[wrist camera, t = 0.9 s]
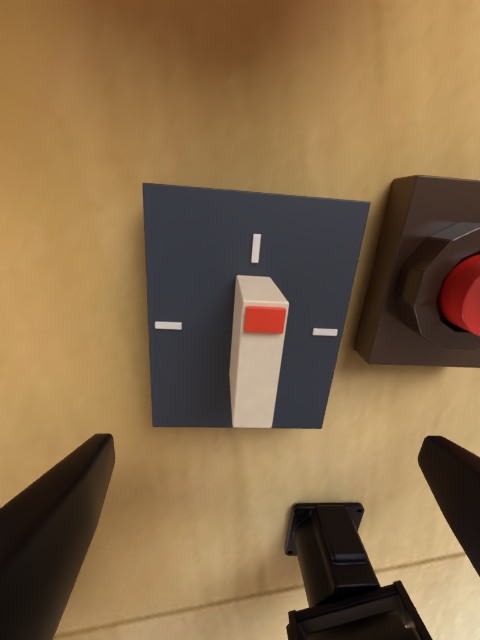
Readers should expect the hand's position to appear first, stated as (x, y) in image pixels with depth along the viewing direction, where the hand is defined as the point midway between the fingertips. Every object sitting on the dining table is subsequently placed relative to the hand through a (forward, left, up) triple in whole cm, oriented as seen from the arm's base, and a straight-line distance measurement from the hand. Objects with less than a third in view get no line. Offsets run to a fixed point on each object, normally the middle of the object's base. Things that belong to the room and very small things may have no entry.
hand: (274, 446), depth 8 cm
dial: (0, 0, -9) cm, 9 cm away
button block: (+3, -12, -12) cm, 17 cm away
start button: (+3, -12, -8) cm, 15 cm away
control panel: (0, 0, -12) cm, 12 cm away
